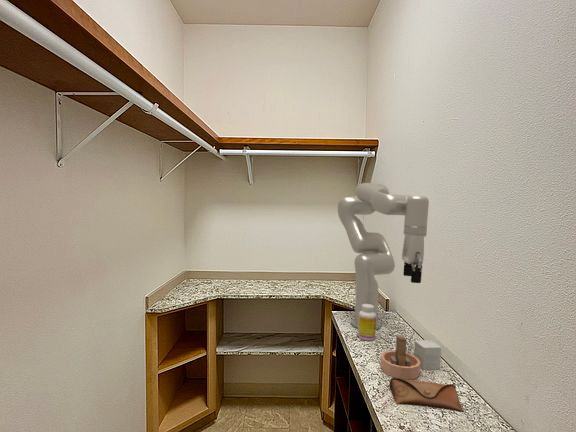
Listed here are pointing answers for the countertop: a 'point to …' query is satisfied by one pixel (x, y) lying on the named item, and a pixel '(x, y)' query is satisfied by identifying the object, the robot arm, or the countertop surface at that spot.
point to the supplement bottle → (367, 323)
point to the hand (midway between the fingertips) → (411, 279)
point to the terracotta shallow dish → (401, 372)
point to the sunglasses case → (425, 394)
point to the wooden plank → (400, 350)
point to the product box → (427, 354)
